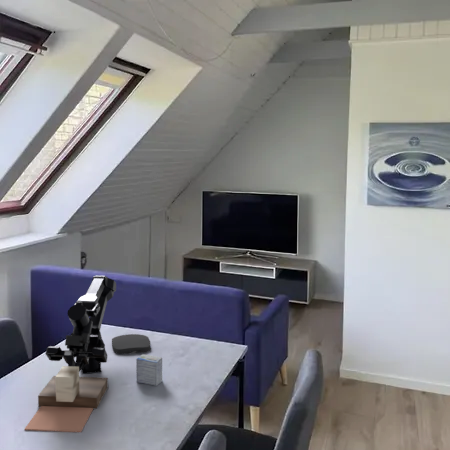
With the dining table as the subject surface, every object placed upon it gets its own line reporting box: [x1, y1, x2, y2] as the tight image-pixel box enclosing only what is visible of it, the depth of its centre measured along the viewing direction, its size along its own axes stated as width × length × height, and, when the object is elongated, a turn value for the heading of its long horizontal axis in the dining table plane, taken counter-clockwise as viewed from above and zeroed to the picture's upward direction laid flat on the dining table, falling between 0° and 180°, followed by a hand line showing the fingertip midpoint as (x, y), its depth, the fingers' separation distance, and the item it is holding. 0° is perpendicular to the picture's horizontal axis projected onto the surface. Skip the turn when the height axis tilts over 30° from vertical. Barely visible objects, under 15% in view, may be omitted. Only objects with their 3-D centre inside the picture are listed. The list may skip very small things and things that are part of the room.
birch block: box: [55, 365, 80, 402], centre depth 160 cm, size 7×5×8 cm
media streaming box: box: [111, 333, 152, 355], centre depth 210 cm, size 15×15×3 cm
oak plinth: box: [37, 375, 109, 410], centre depth 168 cm, size 14×18×4 cm
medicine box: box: [135, 353, 163, 387], centre depth 179 cm, size 8×4×9 cm, turn 71°
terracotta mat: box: [24, 406, 94, 433], centre depth 154 cm, size 13×16×1 cm
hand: (71, 380), depth 164 cm, fingers closed, pressing on birch block
